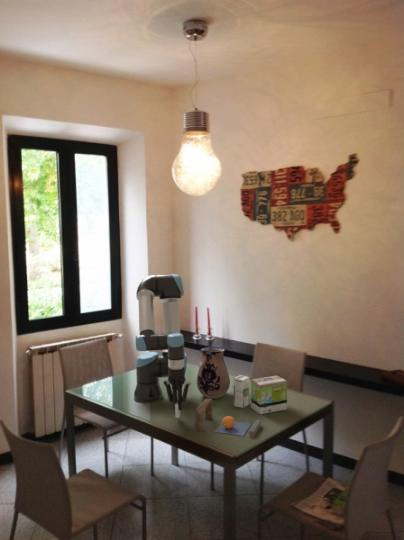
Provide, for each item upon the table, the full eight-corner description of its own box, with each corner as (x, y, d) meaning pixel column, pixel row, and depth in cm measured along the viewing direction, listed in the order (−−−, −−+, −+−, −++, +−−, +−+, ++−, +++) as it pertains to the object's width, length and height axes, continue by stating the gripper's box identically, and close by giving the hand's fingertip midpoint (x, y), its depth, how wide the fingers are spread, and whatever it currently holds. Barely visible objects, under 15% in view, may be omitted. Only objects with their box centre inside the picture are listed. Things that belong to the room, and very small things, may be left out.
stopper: (249, 436, 209) (249, 431, 209) (256, 425, 220) (256, 419, 220) (253, 437, 208) (253, 431, 208) (260, 425, 220) (260, 420, 219)
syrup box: (240, 402, 248) (239, 374, 246) (249, 405, 244) (249, 376, 242) (233, 405, 243) (232, 377, 242) (243, 408, 239) (242, 380, 238)
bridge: (195, 430, 217) (194, 410, 216) (206, 417, 230) (206, 398, 229) (201, 431, 216) (200, 411, 215) (212, 418, 229) (212, 399, 228)
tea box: (261, 415, 231) (260, 385, 229) (250, 408, 240) (250, 379, 238) (288, 409, 237) (287, 380, 235) (276, 402, 246) (276, 374, 244)
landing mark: (214, 432, 214) (214, 431, 214) (224, 420, 226) (224, 419, 226) (243, 436, 210) (243, 435, 210) (251, 424, 222) (251, 423, 222)
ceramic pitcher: (193, 400, 252) (191, 353, 249) (203, 386, 272) (202, 342, 269) (226, 403, 247) (225, 355, 244) (234, 388, 267) (233, 344, 264)
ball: (234, 424, 213) (227, 433, 215) (238, 419, 218) (232, 428, 220) (224, 415, 215) (218, 425, 217) (229, 411, 220) (222, 420, 222)
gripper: (160, 368, 224) (161, 417, 227) (186, 371, 219) (187, 421, 222) (167, 363, 231) (168, 411, 233) (192, 366, 226) (194, 415, 229)
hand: (178, 416), depth 228 cm, fingers closed
